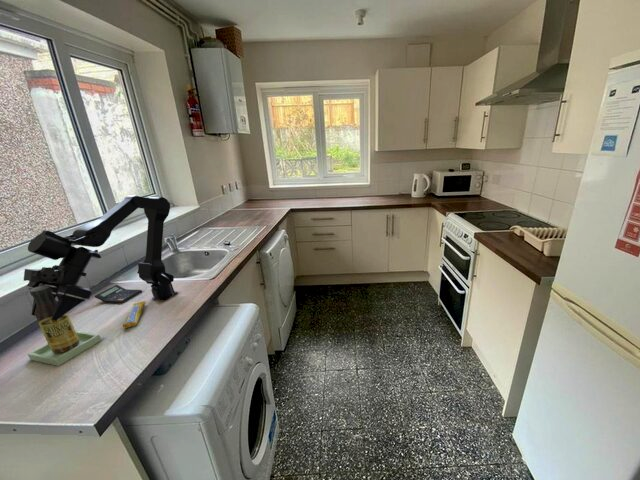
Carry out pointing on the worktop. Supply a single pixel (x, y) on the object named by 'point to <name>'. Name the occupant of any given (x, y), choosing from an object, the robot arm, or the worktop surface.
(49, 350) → the tray
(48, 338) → the sauce bottle
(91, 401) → the worktop surface
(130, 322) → the candy bar
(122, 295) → the calculator
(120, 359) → the worktop surface
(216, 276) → the worktop surface
